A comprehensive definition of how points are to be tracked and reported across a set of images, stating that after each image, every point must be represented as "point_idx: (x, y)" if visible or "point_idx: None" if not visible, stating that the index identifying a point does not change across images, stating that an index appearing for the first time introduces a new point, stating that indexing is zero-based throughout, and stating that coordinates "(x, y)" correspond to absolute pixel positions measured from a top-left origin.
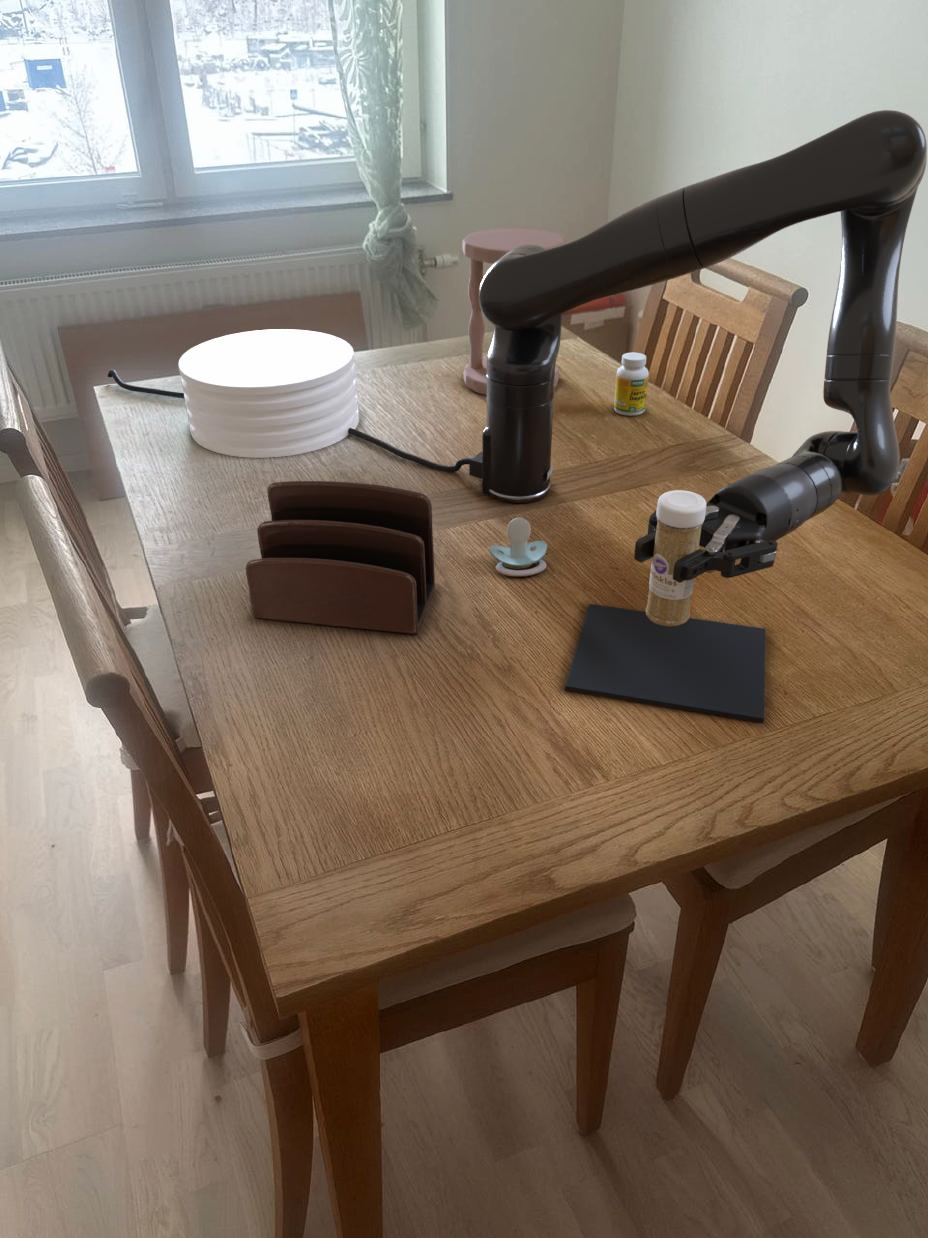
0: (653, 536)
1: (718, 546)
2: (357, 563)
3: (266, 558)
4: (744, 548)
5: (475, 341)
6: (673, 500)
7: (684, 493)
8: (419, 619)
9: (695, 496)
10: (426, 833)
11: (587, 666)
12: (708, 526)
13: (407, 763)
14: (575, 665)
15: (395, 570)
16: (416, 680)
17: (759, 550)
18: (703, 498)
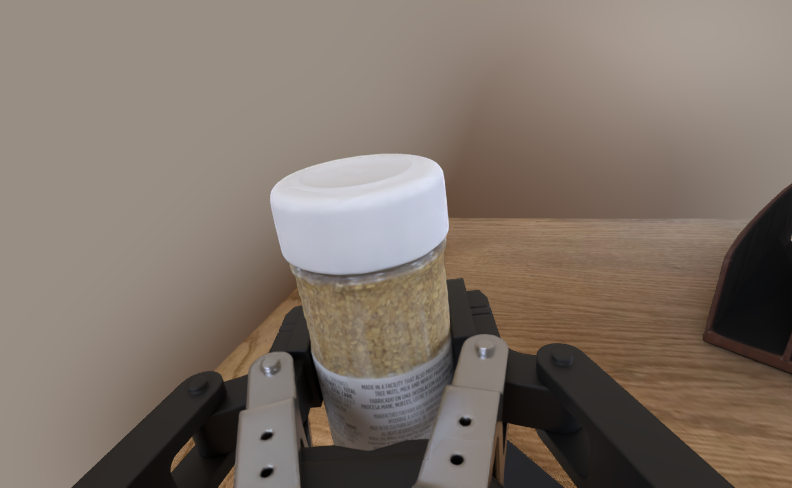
0: (457, 307)
1: (254, 388)
2: (762, 210)
3: None
4: (152, 444)
5: None
6: (374, 162)
7: (378, 179)
8: (732, 339)
9: (329, 187)
10: None
11: (505, 471)
12: (371, 471)
13: (469, 278)
14: (519, 457)
15: (741, 234)
16: (592, 314)
17: (80, 481)
18: (300, 201)
